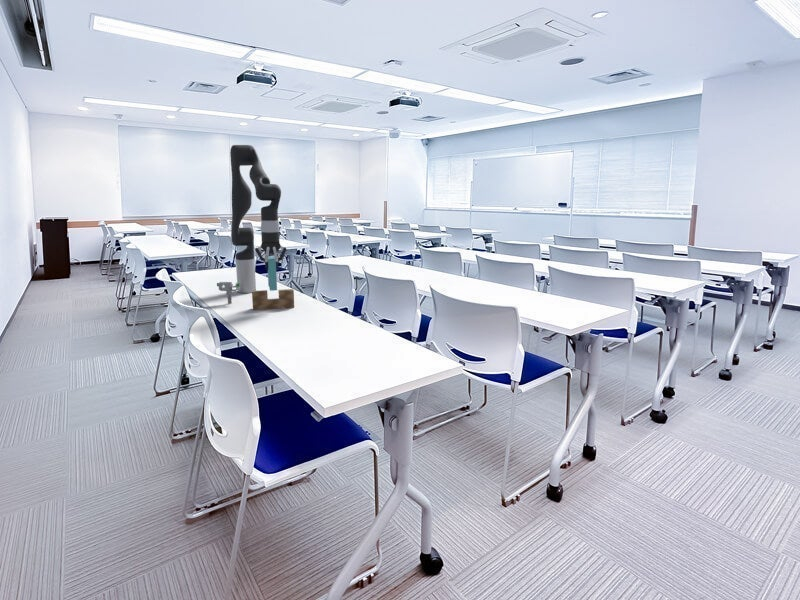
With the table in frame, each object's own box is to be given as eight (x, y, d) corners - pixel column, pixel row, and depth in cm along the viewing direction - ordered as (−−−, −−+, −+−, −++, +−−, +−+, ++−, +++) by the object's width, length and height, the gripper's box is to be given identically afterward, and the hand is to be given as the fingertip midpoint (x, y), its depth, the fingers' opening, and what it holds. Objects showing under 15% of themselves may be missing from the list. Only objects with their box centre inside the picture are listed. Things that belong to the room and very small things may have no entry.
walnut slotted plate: (253, 309, 211) (252, 292, 209) (252, 308, 213) (251, 290, 212) (294, 307, 216) (293, 290, 215) (293, 306, 219) (293, 289, 217)
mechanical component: (239, 304, 220) (238, 283, 218) (217, 304, 221) (216, 282, 218) (241, 303, 223) (240, 282, 221) (220, 302, 224) (218, 281, 221)
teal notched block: (277, 290, 208) (275, 260, 205) (269, 290, 207) (268, 260, 204) (275, 285, 219) (273, 257, 216) (268, 285, 218) (267, 257, 215)
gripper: (253, 231, 202) (255, 272, 205) (287, 231, 206) (288, 270, 210) (253, 230, 209) (255, 269, 212) (285, 230, 213) (287, 268, 217)
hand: (271, 269), depth 211 cm, fingers closed on teal notched block, 3 cm apart
